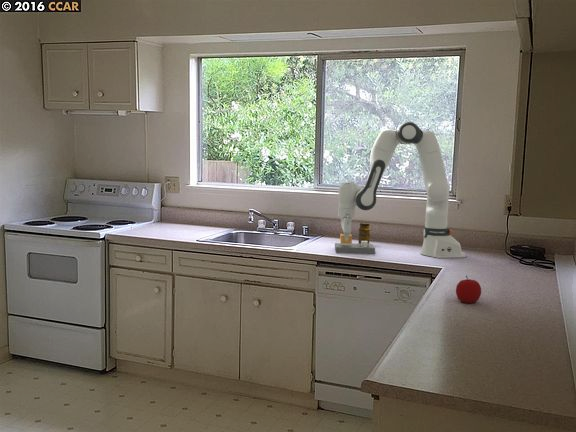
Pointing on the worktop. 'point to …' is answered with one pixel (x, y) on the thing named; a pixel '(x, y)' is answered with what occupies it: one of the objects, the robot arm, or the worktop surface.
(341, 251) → the grey flat slab
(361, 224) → the condiment
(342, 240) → the lockout cap
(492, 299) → the worktop surface
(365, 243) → the button
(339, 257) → the worktop surface
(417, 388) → the worktop surface
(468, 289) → the apple
